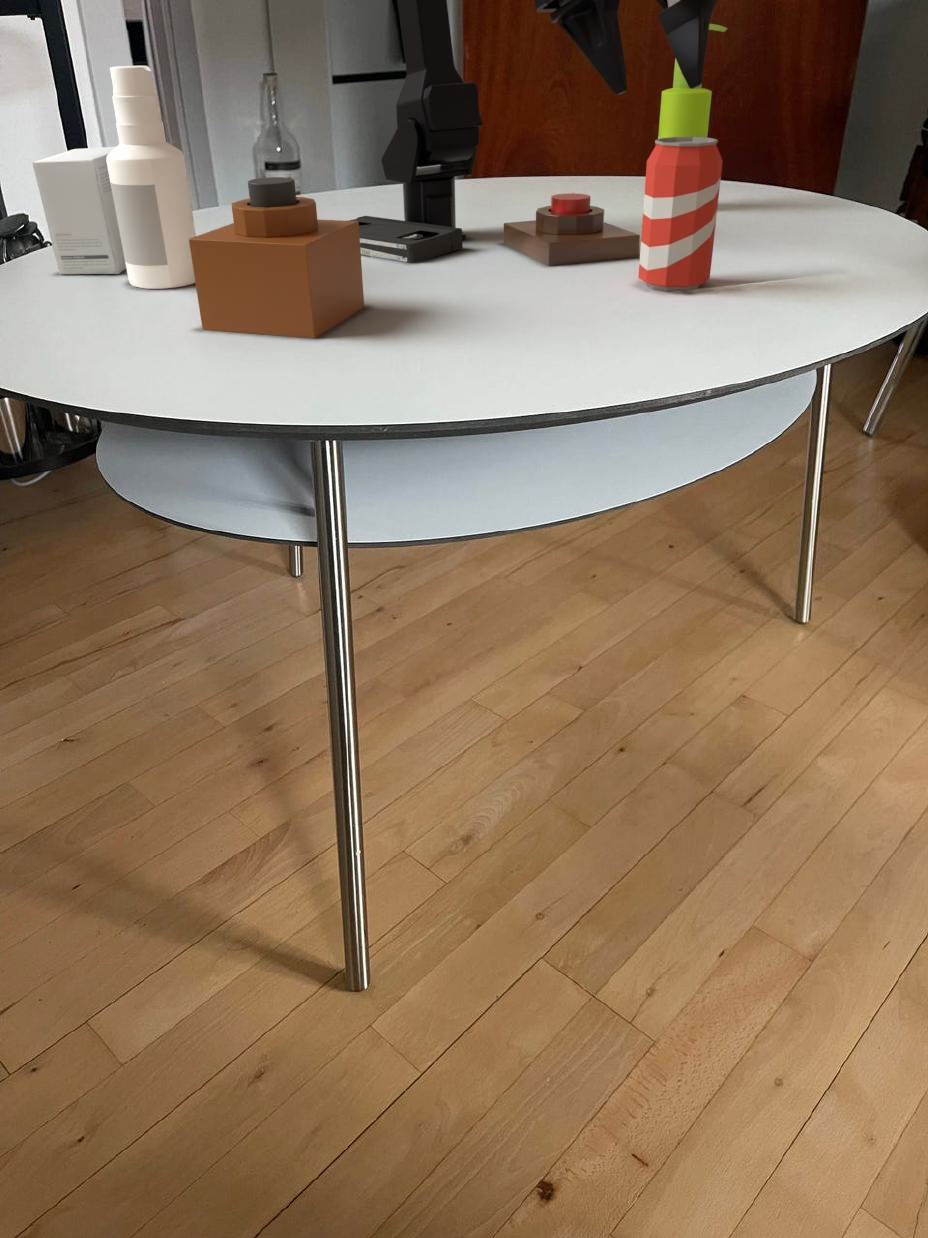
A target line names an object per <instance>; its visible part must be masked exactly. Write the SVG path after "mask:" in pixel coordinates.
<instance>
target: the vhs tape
mask: <svg viewBox="0 0 928 1238" xmlns="http://www.w3.org/2000/svg"><path fill="white" fill-rule="evenodd" d="M348 221H358V222H359V235H360V250H361V257H362V256H363V257H367V258H376V259H377V258H378V259H383V260H388V261H395V262H401V263H405V264H416V263H420V262H422V261H428V260H430V259H433V258H436V257H439V256H442V255H445V254H449V253H451V252H455V251H457V250H461V249H463V248H464V247H463V239H462V232H463V228H461V227H456V228H454V227H447V226H439V225H432V224H424V223H417V222H409V221H405V220H402V219H401V220H400V219H395V218H394V219H393V218H387V217H379V216H371V215H363V216H358V217H357V218H354V219H348Z"/></svg>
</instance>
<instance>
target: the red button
mask: <svg viewBox="0 0 928 1238" xmlns="http://www.w3.org/2000/svg"><path fill="white" fill-rule="evenodd" d="M550 206H551V212H552V213H558V214H582V213H589V212H590V206H591V195H589V194H585V193H574V192H573V193H572V192H571V193H569V192H568V193H558V194H557V193H556V194H553V195H551V196H550Z"/></svg>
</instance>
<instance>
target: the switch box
mask: <svg viewBox="0 0 928 1238" xmlns="http://www.w3.org/2000/svg"><path fill="white" fill-rule="evenodd" d="M640 243H641V234H638V233H636V232H633V231H630V230H628V229H624V228H621V227H619V226H617V225H613V224H610V223H608V222H605V208H602V207H599V206H595V205H590V212H589V213H582V214H558V213H552V212H551V205H547V206H542V207H538V208H537V209H536V211H535V220H524V221H513V222H512V221H511V222H504V223H503V245H504V246H507V247H508V248H511V249H513V250H515V251H517V252H518V253H520V254H523V255H525V256H527V257H529V258H531V259H533V260H535V261H537V262H539V263H541V264H543V265H546V266H547V267H556V266H564V265H576V264H585V263H595V262H604V261H616V260H625V259H636V258H639V257H640Z"/></svg>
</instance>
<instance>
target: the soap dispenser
mask: <svg viewBox="0 0 928 1238" xmlns="http://www.w3.org/2000/svg"><path fill="white" fill-rule="evenodd" d="M727 30H728V27H726V26H723V25H720V24H714V23H710V25H709V30H708V31H717V32H722V33H725V32H726V31H727ZM674 58H675V57H674ZM673 68H674V69H673V82H672V87H671V88H667V89H664V90H662V91H661V99H660V111H659V123H658V136H657V139H659V138H669V137H704V138H708V133H709V122H710V113H711V103H712V95H713V91H712V90H710V89H708V88H703V83H702V84H701V85H700V86H698V87H696V88H693V89H691V88H689V86H688V84H687V82H686V80H685V78H684V76H683V74H682V72H681V70H680V67H679V65H678V63H677V60H676V58H675V59H674V67H673Z"/></svg>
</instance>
